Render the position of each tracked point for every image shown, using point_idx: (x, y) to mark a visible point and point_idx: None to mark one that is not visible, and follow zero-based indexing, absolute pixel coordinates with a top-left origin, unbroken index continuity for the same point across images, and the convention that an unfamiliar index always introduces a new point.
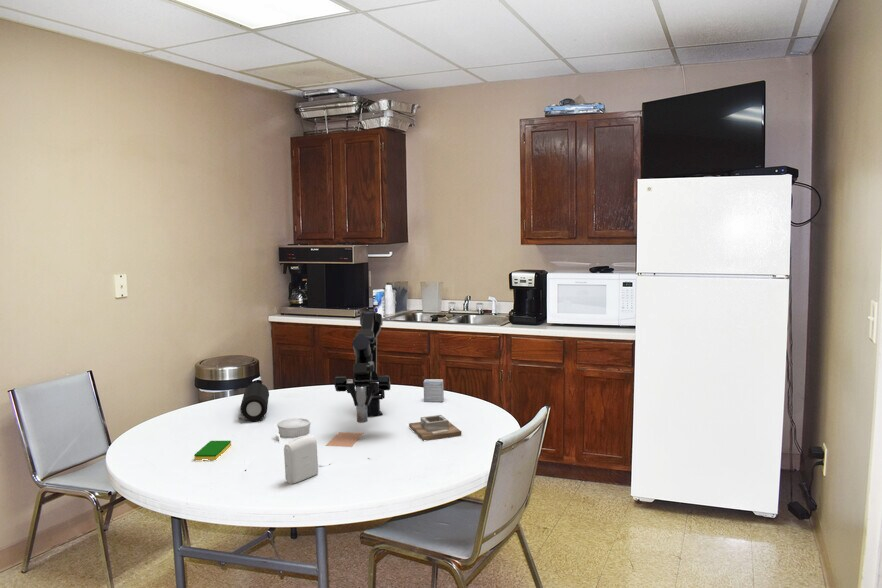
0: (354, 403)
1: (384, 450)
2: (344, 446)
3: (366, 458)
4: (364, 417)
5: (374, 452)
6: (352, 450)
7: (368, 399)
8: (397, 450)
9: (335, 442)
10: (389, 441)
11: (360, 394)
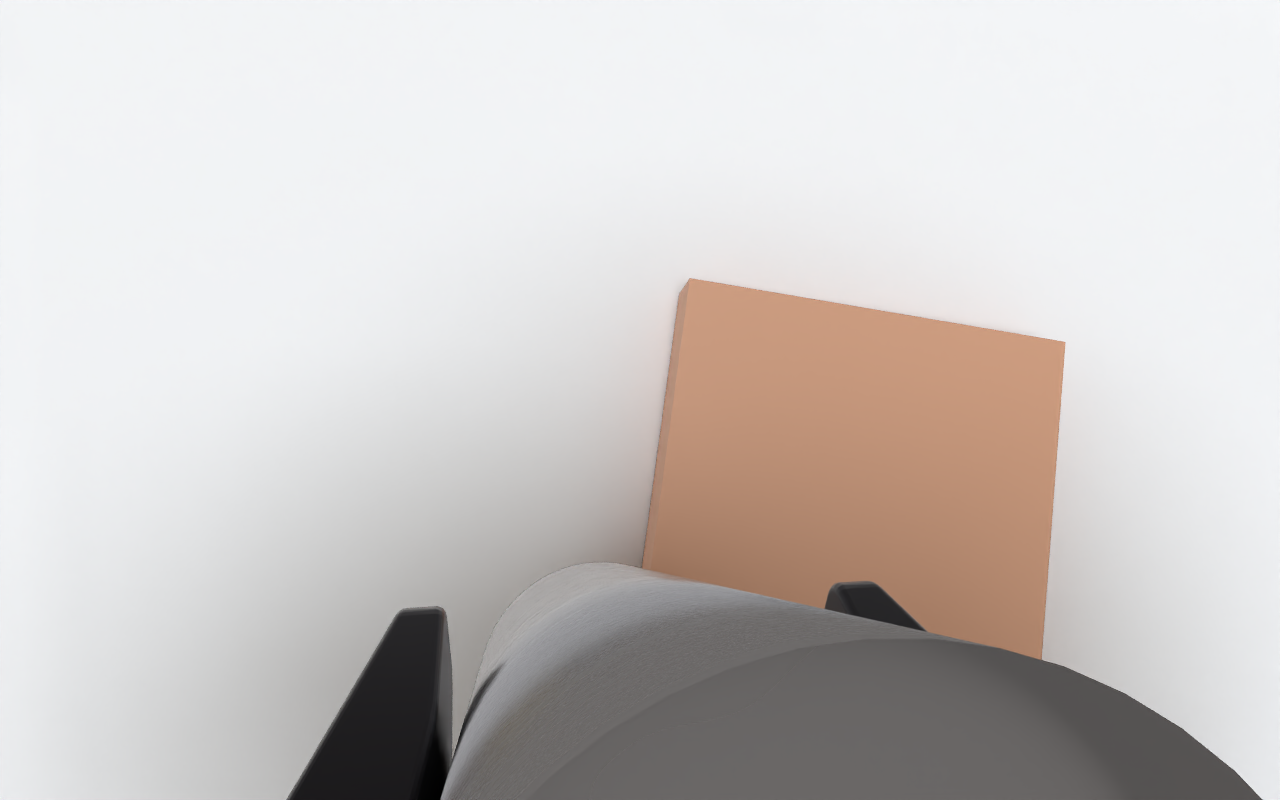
0: (898, 605)
1: (214, 304)
2: (793, 298)
3: (439, 20)
4: (535, 588)
5: (355, 232)
6: (674, 326)
7: (351, 749)
8: (14, 295)
9: (957, 469)
10: (160, 706)
11: (739, 600)
